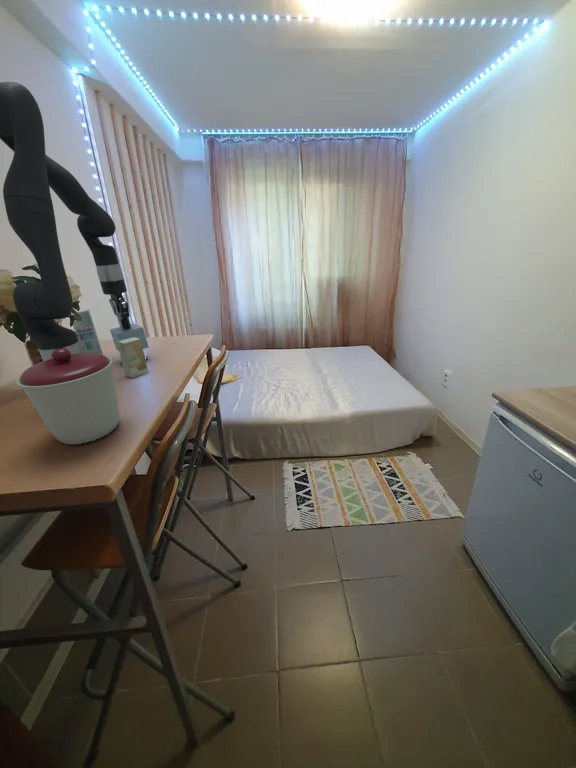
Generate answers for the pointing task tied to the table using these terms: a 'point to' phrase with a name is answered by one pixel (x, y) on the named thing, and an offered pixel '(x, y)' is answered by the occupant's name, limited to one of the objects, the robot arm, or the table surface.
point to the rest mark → (145, 359)
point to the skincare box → (132, 357)
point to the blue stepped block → (128, 333)
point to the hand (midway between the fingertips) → (125, 327)
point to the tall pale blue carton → (87, 333)
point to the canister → (73, 395)
